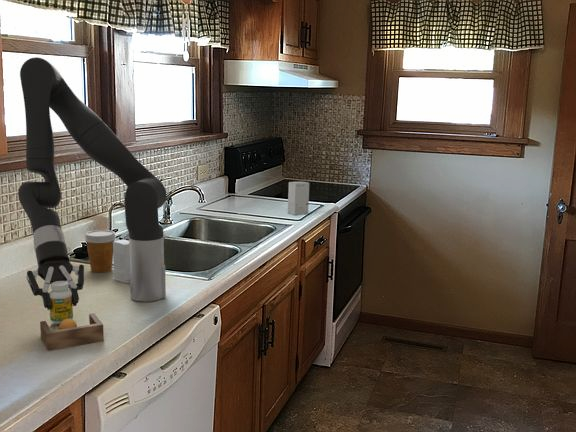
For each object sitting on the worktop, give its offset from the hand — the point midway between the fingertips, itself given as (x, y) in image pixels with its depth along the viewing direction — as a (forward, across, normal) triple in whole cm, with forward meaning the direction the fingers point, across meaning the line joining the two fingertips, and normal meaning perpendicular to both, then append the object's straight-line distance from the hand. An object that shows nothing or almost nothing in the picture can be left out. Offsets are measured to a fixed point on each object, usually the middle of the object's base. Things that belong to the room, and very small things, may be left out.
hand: (62, 306), depth 155 cm
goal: (+10, 0, -3) cm, 11 cm away
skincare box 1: (-17, +24, +24) cm, 38 cm away
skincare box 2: (-62, +125, +70) cm, 156 cm away
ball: (+7, 0, -2) cm, 7 cm away
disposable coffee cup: (-26, +20, +34) cm, 48 cm away
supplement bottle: (+2, 0, +4) cm, 5 cm away
